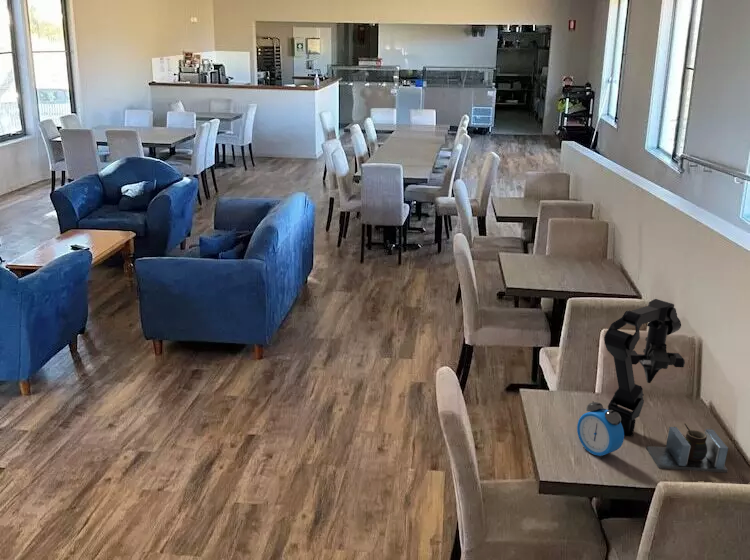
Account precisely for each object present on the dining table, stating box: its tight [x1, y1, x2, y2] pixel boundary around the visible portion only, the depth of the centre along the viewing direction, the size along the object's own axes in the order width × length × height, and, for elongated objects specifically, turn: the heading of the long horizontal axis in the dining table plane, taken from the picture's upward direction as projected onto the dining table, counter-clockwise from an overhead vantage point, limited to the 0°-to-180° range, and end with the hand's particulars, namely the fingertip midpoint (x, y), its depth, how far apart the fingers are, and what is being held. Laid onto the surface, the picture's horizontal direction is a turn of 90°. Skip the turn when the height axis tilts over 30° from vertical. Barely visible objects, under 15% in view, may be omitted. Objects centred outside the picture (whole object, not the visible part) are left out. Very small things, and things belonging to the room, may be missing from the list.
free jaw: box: [665, 426, 691, 466], centre depth 223 cm, size 2×11×7 cm, turn 178°
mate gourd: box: [684, 423, 707, 462], centre depth 223 cm, size 7×8×10 cm
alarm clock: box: [576, 400, 625, 460], centre depth 224 cm, size 13×6×15 cm, turn 35°
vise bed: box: [646, 428, 729, 473], centre depth 223 cm, size 20×11×8 cm, turn 88°
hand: (648, 382), depth 245 cm, fingers closed
